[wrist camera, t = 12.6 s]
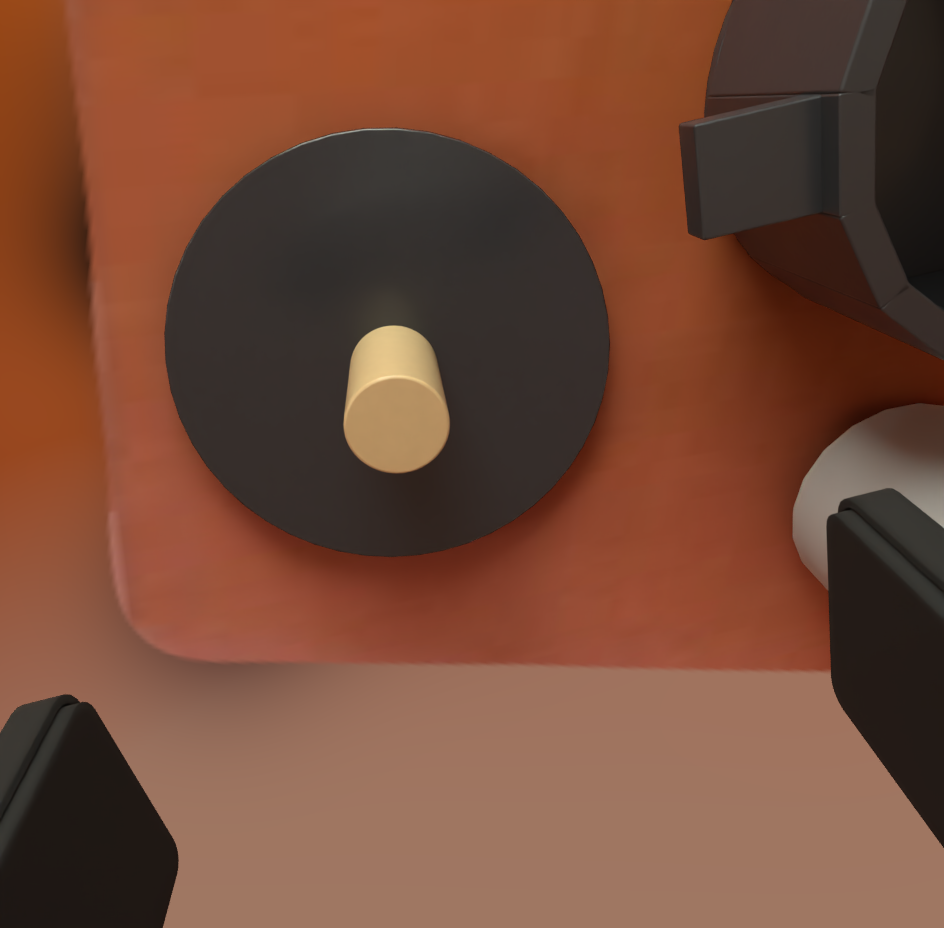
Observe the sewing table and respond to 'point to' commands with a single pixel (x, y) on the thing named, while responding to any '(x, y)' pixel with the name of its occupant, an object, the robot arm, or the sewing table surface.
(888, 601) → the robot arm
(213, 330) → the pot lid
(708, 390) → the sewing table surface
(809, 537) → the can
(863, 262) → the pot
